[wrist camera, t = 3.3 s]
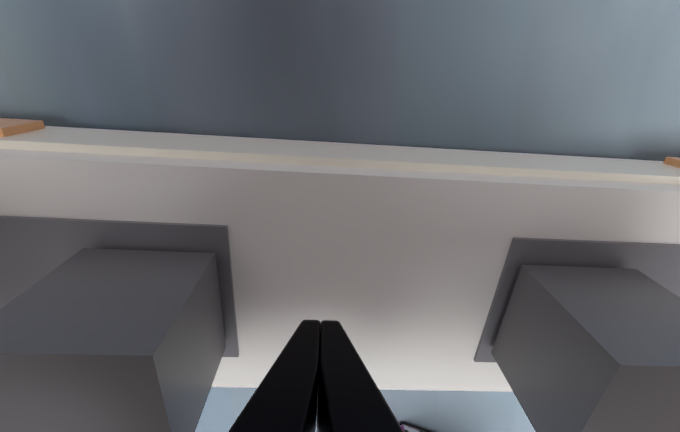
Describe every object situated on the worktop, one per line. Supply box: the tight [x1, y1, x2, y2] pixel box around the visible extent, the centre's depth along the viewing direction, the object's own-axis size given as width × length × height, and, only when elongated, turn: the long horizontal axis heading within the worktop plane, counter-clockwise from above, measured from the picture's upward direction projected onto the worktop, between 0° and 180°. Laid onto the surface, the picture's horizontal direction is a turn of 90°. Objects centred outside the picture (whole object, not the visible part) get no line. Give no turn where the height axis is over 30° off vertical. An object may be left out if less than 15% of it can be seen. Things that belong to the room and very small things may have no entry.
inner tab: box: [0, 248, 226, 432], centre depth 7 cm, size 3×3×3 cm
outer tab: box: [491, 265, 680, 432], centre depth 7 cm, size 3×3×3 cm
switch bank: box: [0, 118, 680, 392], centre depth 10 cm, size 7×27×3 cm, turn 86°
